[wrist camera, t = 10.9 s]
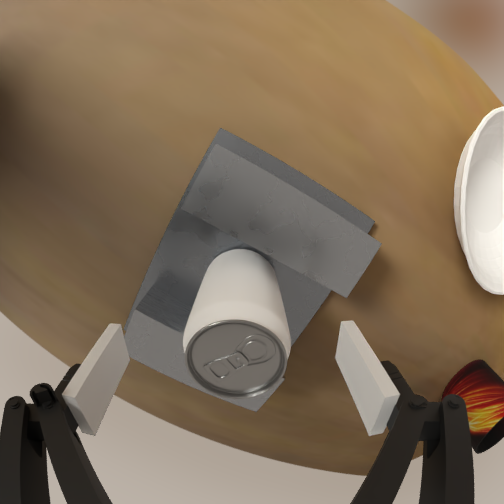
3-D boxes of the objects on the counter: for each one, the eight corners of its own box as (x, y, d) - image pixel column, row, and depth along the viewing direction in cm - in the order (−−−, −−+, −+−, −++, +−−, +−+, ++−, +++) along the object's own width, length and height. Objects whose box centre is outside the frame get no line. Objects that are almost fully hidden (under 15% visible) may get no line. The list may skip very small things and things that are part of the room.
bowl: (527, 136, 23) (559, 138, 17) (511, 275, 28) (540, 292, 22) (426, 89, 22) (463, 77, 16) (409, 274, 28) (442, 299, 22)
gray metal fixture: (126, 325, 29) (105, 356, 23) (221, 128, 24) (213, 117, 18) (255, 386, 31) (257, 423, 26) (371, 219, 26) (400, 233, 20)
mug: (416, 423, 35) (444, 475, 24) (466, 356, 32) (510, 404, 20) (448, 422, 36) (476, 466, 25) (493, 362, 33) (532, 402, 21)
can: (289, 290, 27) (315, 373, 15) (232, 324, 28) (224, 416, 16) (250, 232, 25) (251, 289, 14) (190, 272, 26) (153, 348, 15)
